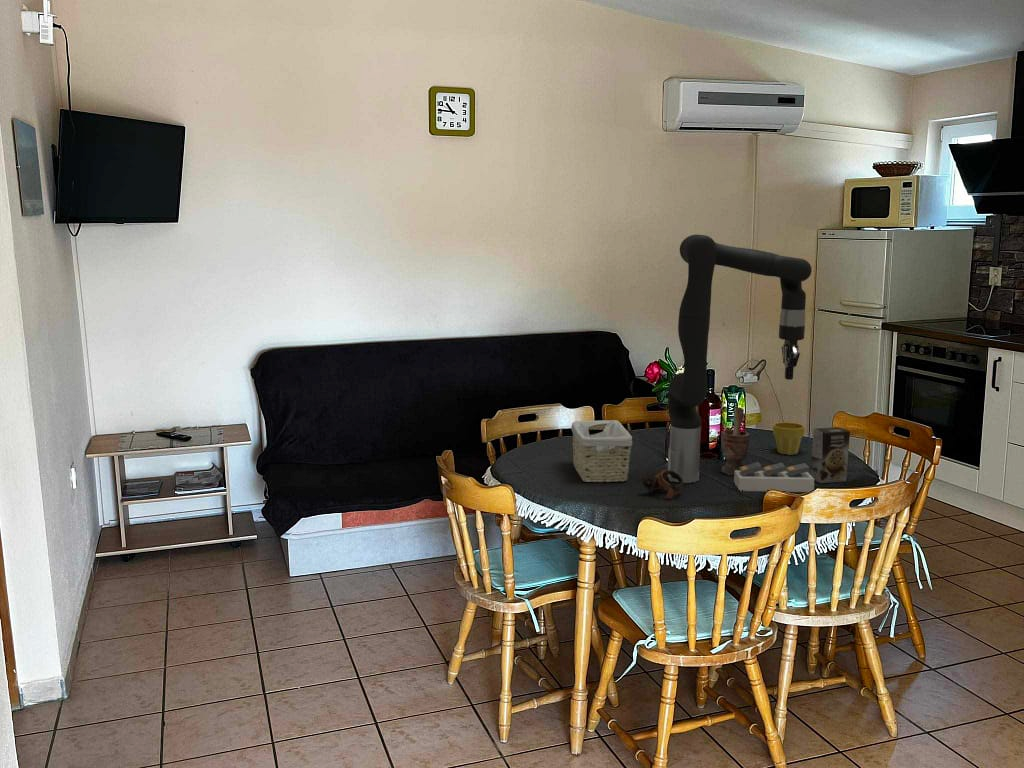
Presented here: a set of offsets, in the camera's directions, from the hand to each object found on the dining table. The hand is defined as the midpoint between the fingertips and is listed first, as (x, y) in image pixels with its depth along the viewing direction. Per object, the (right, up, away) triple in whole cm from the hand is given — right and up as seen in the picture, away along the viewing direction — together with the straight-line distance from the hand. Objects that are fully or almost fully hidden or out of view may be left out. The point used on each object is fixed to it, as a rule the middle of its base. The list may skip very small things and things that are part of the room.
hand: (788, 379), depth 284 cm
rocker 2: (-7, -27, -7) cm, 29 cm away
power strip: (-7, -33, -6) cm, 34 cm away
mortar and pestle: (-15, -30, +11) cm, 35 cm away
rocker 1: (-14, -27, -7) cm, 31 cm away
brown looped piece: (-42, -34, -13) cm, 55 cm away
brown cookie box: (+13, -32, +2) cm, 34 cm away
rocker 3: (0, -27, -8) cm, 28 cm away
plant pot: (+9, -25, +32) cm, 42 cm away
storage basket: (-58, -30, +9) cm, 66 cm away
